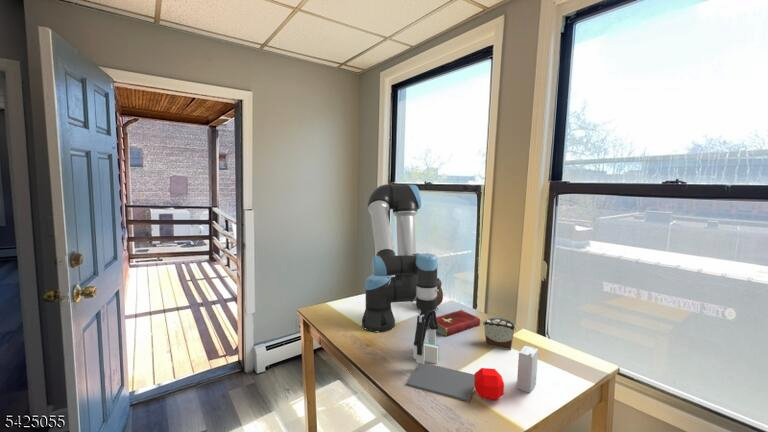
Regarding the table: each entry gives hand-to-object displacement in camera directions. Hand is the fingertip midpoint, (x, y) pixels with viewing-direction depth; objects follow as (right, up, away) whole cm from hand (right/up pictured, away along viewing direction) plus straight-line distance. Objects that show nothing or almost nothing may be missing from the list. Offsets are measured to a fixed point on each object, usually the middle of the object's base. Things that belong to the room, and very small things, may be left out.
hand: (426, 354), depth 120 cm
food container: (+31, -1, +12) cm, 33 cm away
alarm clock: (+7, +2, +49) cm, 50 cm away
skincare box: (+30, -4, -16) cm, 34 cm away
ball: (+16, -4, -20) cm, 26 cm away
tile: (0, -2, +1) cm, 2 cm away
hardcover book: (+16, 0, +29) cm, 33 cm away
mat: (+4, -3, -13) cm, 14 cm away
